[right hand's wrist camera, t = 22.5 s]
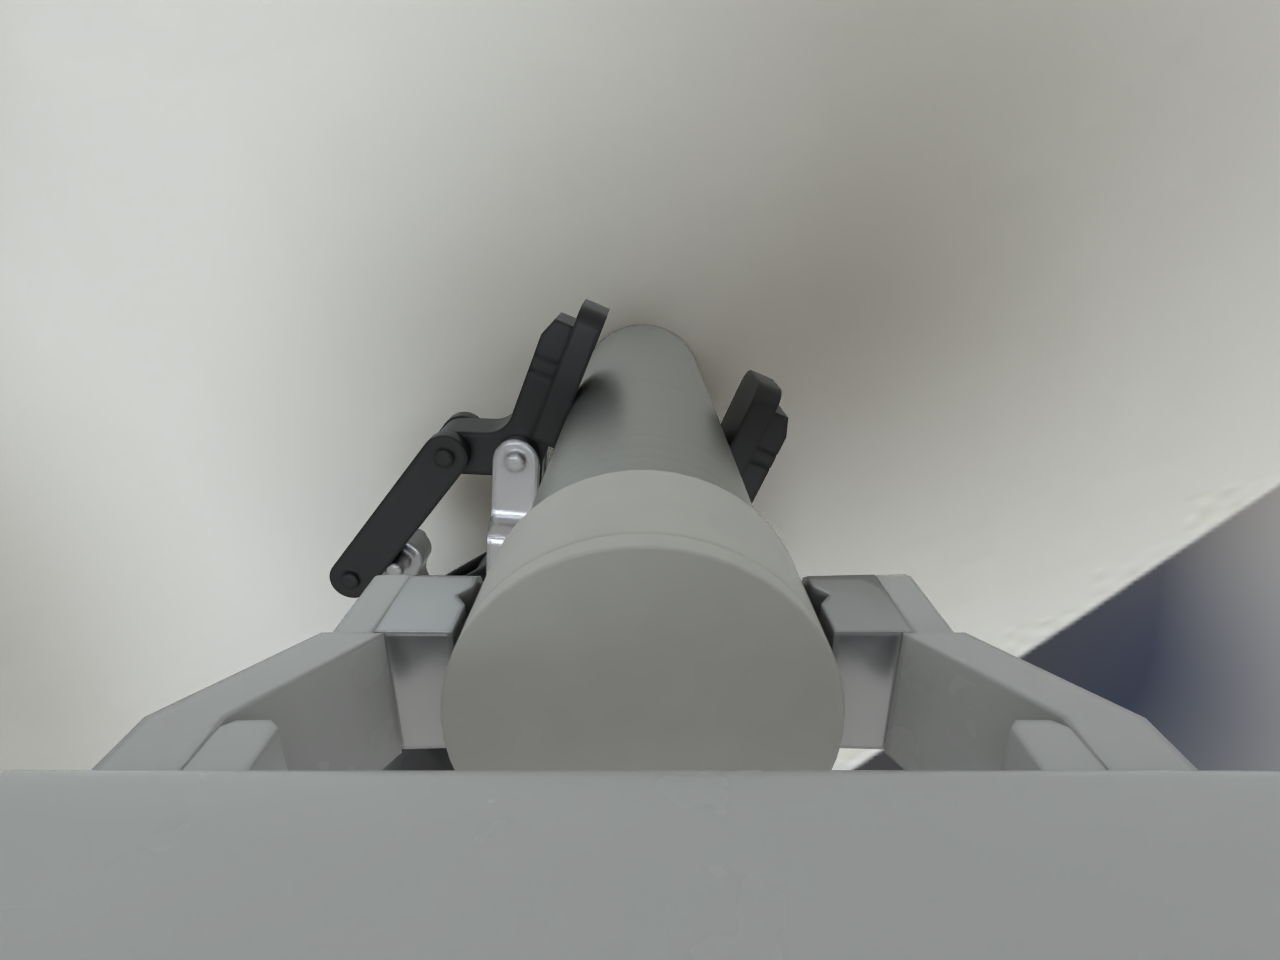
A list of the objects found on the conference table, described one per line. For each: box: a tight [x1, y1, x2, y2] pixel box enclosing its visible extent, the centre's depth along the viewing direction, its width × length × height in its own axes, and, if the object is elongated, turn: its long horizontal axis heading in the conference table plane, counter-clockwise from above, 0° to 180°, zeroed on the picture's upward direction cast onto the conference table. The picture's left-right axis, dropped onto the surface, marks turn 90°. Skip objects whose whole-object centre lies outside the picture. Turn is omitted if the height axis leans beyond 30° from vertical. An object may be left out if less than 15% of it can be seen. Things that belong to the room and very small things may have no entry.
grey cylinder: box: [531, 325, 754, 509], centre depth 17 cm, size 4×4×18 cm
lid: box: [440, 470, 845, 770], centre depth 9 cm, size 5×5×2 cm
